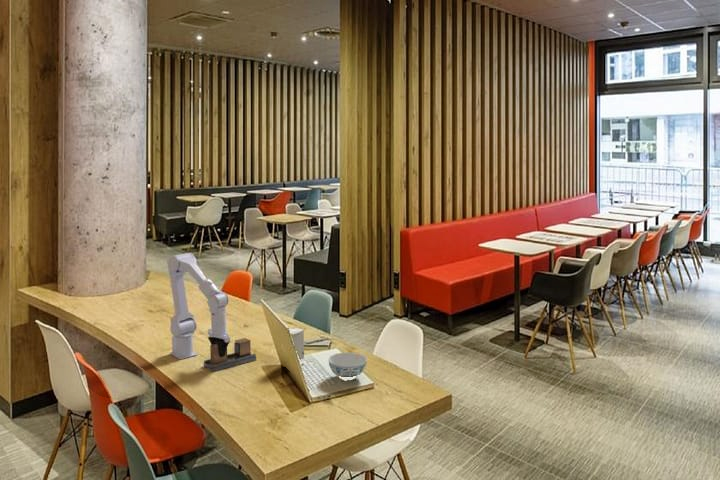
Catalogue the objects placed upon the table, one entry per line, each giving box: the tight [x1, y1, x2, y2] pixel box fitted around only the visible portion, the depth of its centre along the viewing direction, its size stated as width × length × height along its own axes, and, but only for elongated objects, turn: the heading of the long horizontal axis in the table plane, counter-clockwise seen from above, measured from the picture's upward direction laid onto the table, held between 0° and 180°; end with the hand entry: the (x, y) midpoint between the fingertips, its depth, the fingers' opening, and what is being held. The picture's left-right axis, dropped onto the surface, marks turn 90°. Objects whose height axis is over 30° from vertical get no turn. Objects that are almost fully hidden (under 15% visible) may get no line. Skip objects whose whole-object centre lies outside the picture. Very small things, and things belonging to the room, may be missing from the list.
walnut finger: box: [209, 344, 228, 364], centre depth 238 cm, size 4×6×7 cm
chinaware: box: [327, 352, 368, 377], centre depth 227 cm, size 15×15×8 cm
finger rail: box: [203, 337, 257, 373], centre depth 241 cm, size 8×20×8 cm, turn 133°
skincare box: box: [288, 327, 305, 360], centre depth 239 cm, size 8×6×15 cm
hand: (219, 354), depth 238 cm, fingers closed on walnut finger, 4 cm apart
